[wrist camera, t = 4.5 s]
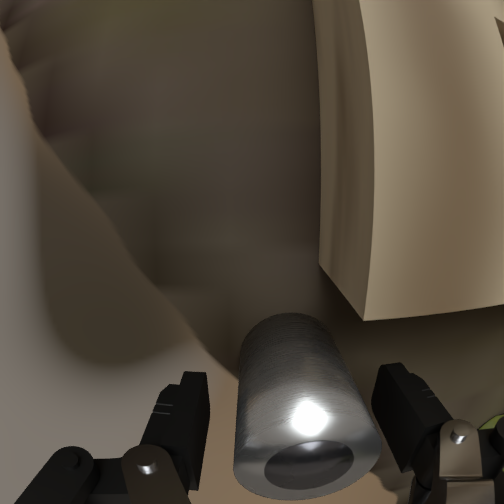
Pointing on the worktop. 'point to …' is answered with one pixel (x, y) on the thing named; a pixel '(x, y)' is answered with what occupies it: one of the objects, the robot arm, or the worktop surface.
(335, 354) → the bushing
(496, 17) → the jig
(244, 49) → the worktop surface
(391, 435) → the robot arm
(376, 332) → the worktop surface
